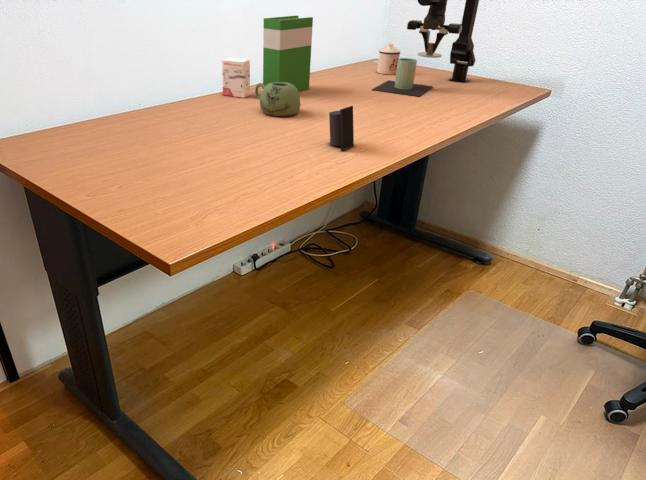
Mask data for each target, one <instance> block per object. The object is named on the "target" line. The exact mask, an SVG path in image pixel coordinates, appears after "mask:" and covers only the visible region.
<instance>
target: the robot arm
mask: <svg viewBox="0 0 646 480" xmlns="http://www.w3.org/2000/svg"><path fill="white" fill-rule="evenodd" d="M417 3H418V4H419V5H420V6H423V7H428V6H429V8H428V10H427V14H426V16H425V17H424V18H423V21H422V20H417V19H411V20H409V21H408V22H407V25H406V30H409V31H410V30H412V31H416V30H417V29H419V31H418V34H421V36H422V39H423V45H424V52H427V48H428V43H430V38H431V37H430V36H431V30H432V31H438V32H437V33H436V37H435V40H434V41H435V42H434V43H435V45H434V48H433V53H436V51H437V49H438V47H439V45H440V44H441V41H443V40H442V39H443V38H445V36H447V35H448V34H454V35H458V38H456V40H455V41H453V42H452V43H451V50H450V54H449V64H451V65H454V66H453V70H452V76H451V77H450V78H449V81H451V82H452V81H453V82H459V83H460V82H461V83H466V82H467V81H468V80H469V78H467V76H468V72H469V67H474V66H475V63H476V56H475V53H474V50H475V49H474V48H475V45H474V41H473V39H472V36H473V32H474V27H475V23H476V18H477V13H478V10H479V9H478V8H479V3H480V0H465V4H464V9H463V14H462V18H461V23H455V22H454V23H453V22H451V23H449V24H445V22H446V12H447V5H448V0H417Z"/></svg>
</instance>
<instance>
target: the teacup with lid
mask: <svg viewBox="0 0 646 480" xmlns="http://www.w3.org/2000/svg"><path fill="white" fill-rule="evenodd" d="M378 54H379V55H378V60H377V67H376V68H377V70H376V72H377V73H378V74H379V75H388V76H389V75H390V76H393V75H396V72H397V65H398V59H400V54H401V50H400V49H398V48H397V47H395V46H394V43H388V44H387V46H385V47H382V48H380V49H379V51H378Z"/></svg>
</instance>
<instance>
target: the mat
mask: <svg viewBox="0 0 646 480" xmlns="http://www.w3.org/2000/svg"><path fill="white" fill-rule="evenodd" d="M394 86H395V80H387V81H385V82H383V83H381V84H379V85H377V86H376V87H374V88H372V89H371V91H375V92H382V93H389V94H395V95H403V96H409V97H417V98H419V97H421V96H422V95H423V94H425V93H426V92H428V91H429V90H430V89H433V85H425V84H418V83H413V88H412V89H408V90H405V89H398V88H395V87H394Z"/></svg>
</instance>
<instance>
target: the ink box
mask: <svg viewBox="0 0 646 480" xmlns="http://www.w3.org/2000/svg"><path fill="white" fill-rule="evenodd" d="M250 63H251V60H250V59H248V58H241V57H233V56H231V57H229V56H228V57H226V58H224V59H222V60H221V69H222V70H221V71H222V72H221V73H222V74H221V75H222V95H223V96H227V97H234V98H242V99H244V98H247V97H249V96H250V95H251V64H250Z"/></svg>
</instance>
